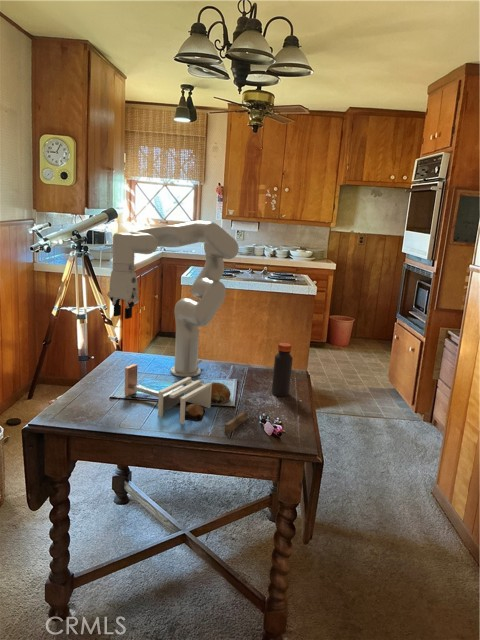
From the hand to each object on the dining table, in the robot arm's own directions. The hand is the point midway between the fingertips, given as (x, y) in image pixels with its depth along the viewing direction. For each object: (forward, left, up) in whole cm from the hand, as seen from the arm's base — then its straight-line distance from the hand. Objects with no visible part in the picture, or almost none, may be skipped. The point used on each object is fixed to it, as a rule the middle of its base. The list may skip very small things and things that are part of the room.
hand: (122, 316), depth 175 cm
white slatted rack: (+4, +32, -27) cm, 42 cm away
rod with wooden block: (+4, +17, -27) cm, 32 cm away
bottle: (-32, +52, -28) cm, 67 cm away
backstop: (+3, +52, -27) cm, 58 cm away
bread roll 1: (+4, +35, -28) cm, 45 cm away
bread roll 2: (-12, +35, -28) cm, 46 cm away
